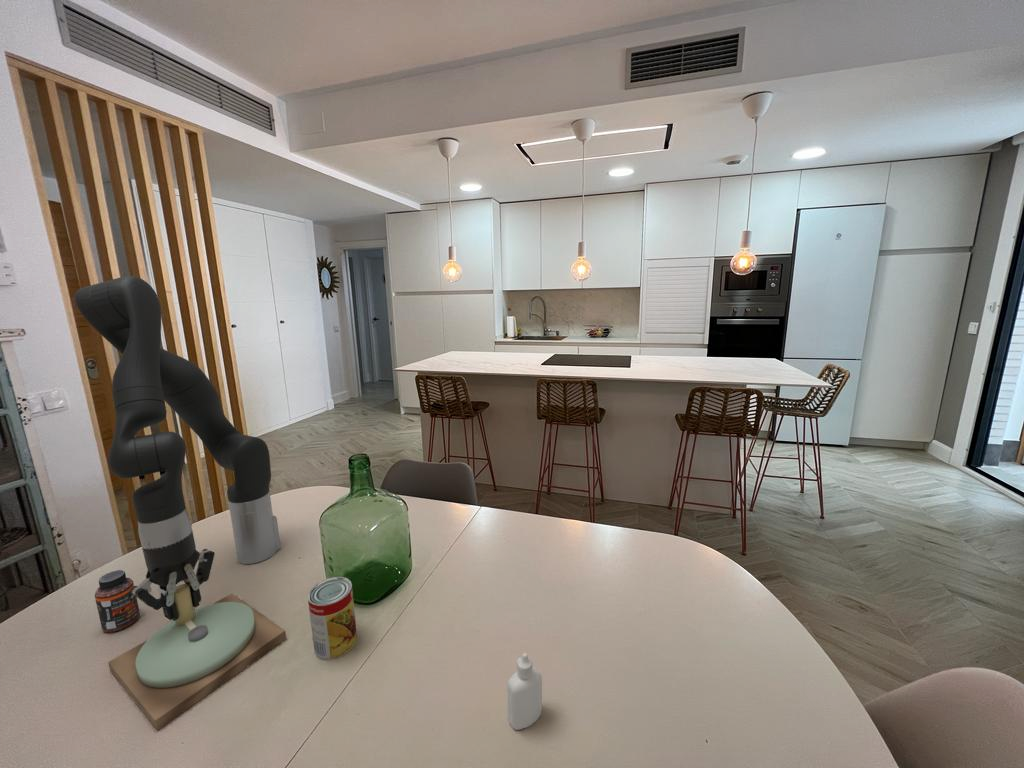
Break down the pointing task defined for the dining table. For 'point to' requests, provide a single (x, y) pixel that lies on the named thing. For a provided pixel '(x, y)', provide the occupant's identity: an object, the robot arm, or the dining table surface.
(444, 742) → the dining table surface
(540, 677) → the eye dropper bottle
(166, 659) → the dial
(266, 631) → the base board
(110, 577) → the supplement bottle
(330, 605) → the canned food
